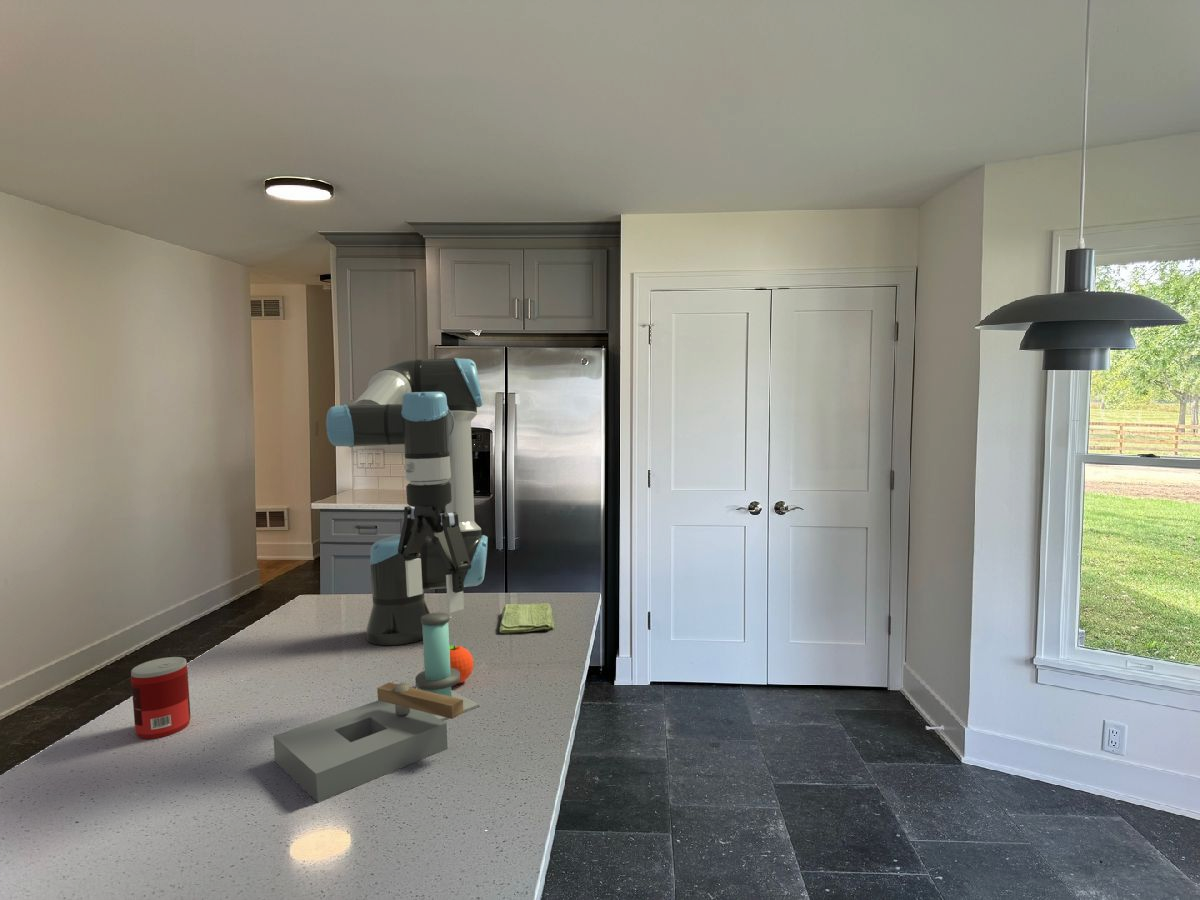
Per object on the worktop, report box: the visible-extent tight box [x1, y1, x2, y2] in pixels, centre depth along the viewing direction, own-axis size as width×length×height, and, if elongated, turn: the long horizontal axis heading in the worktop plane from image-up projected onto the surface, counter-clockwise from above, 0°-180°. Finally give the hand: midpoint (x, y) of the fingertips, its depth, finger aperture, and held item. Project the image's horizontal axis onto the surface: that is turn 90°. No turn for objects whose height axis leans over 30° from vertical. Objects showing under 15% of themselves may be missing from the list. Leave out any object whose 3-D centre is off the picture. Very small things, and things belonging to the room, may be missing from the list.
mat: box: [431, 689, 480, 721], centre depth 122 cm, size 10×10×1 cm
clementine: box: [449, 645, 474, 684], centre depth 133 cm, size 8×7×7 cm
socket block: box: [272, 699, 448, 803], centre depth 105 cm, size 16×20×4 cm
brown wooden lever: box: [376, 682, 464, 720], centre depth 108 cm, size 2×16×4 cm, turn 60°
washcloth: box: [498, 602, 555, 635], centre depth 169 cm, size 13×18×3 cm
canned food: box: [130, 656, 192, 740], centre depth 116 cm, size 8×8×11 cm
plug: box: [415, 612, 460, 697], centre depth 121 cm, size 8×8×16 cm
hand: (434, 602), depth 121 cm, fingers open, 13 cm apart
